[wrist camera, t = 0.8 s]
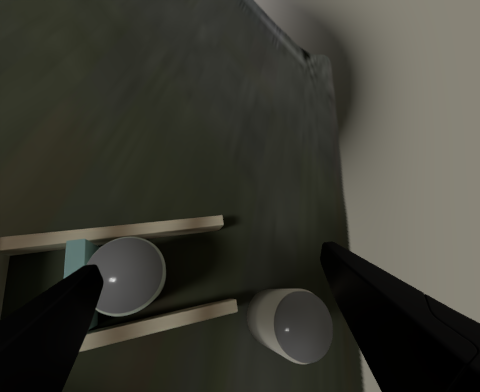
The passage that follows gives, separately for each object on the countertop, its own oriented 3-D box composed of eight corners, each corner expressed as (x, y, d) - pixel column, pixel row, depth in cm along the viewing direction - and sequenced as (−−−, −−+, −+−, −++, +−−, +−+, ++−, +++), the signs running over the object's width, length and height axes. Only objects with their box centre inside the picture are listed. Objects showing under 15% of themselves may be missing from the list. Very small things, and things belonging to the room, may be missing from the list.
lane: (217, 221, 25) (223, 213, 22) (231, 309, 22) (239, 312, 19) (-4, 245, 19) (-32, 238, 16) (-26, 373, 16) (-66, 390, 13)
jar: (299, 337, 23) (343, 354, 17) (252, 353, 21) (284, 377, 15) (286, 284, 25) (323, 282, 19) (242, 294, 23) (267, 296, 17)
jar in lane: (168, 301, 21) (168, 306, 15) (104, 315, 19) (76, 327, 13) (164, 245, 23) (163, 230, 17) (105, 253, 21) (81, 240, 15)
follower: (99, 247, 21) (85, 238, 17) (97, 325, 18) (81, 333, 15) (84, 249, 20) (66, 240, 17) (80, 329, 18) (59, 338, 15)
